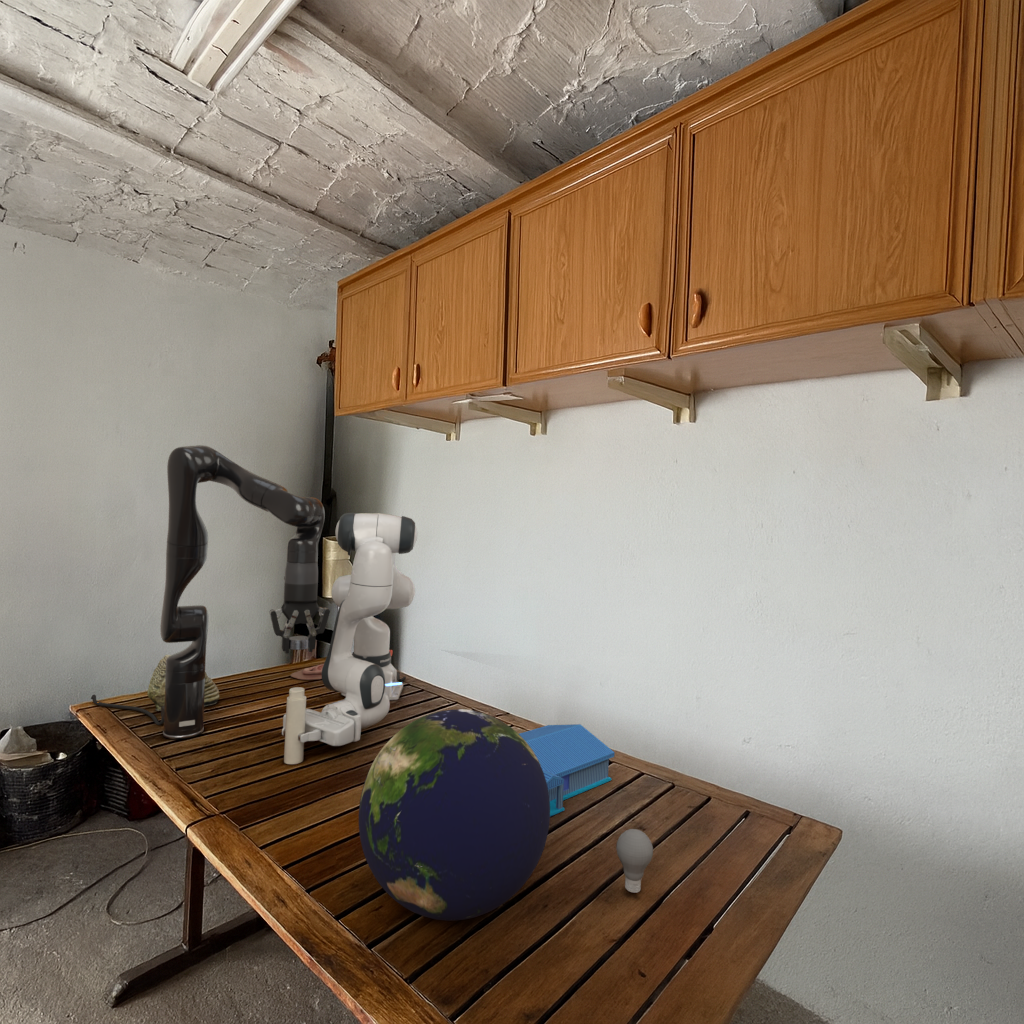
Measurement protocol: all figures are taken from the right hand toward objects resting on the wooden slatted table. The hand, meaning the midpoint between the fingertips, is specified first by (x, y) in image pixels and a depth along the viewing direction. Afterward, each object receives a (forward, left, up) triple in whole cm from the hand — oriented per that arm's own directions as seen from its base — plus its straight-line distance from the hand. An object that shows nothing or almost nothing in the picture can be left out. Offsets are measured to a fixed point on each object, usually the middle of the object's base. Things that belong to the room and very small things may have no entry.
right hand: (291, 735), depth 150 cm
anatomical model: (-68, -27, -6) cm, 73 cm away
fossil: (-28, -48, -6) cm, 56 cm away
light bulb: (+34, +78, -6) cm, 86 cm away
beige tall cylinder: (-1, 0, -6) cm, 6 cm away
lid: (-1, 0, +23) cm, 23 cm away
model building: (+1, +56, -6) cm, 57 cm away
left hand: (-1, 0, +20) cm, 20 cm away
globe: (+43, +49, -6) cm, 66 cm away
